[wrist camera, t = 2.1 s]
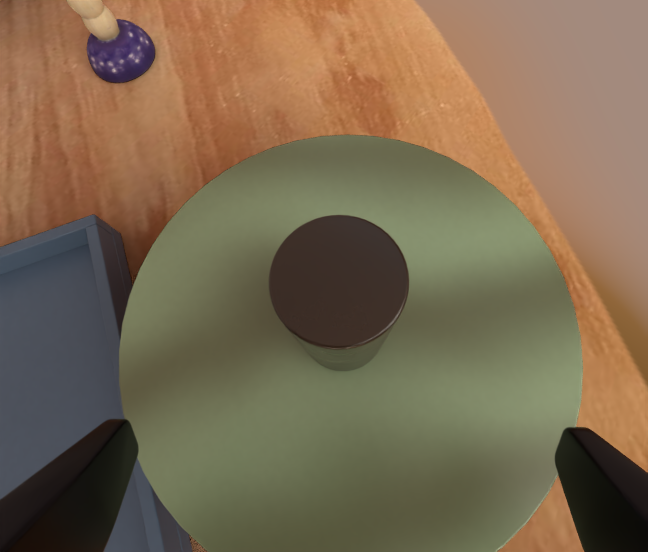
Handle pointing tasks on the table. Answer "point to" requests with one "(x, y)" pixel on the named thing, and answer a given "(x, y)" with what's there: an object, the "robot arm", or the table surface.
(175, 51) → the table surface
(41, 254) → the tray
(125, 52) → the toy lamp
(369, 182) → the basket lid
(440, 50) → the table surface
